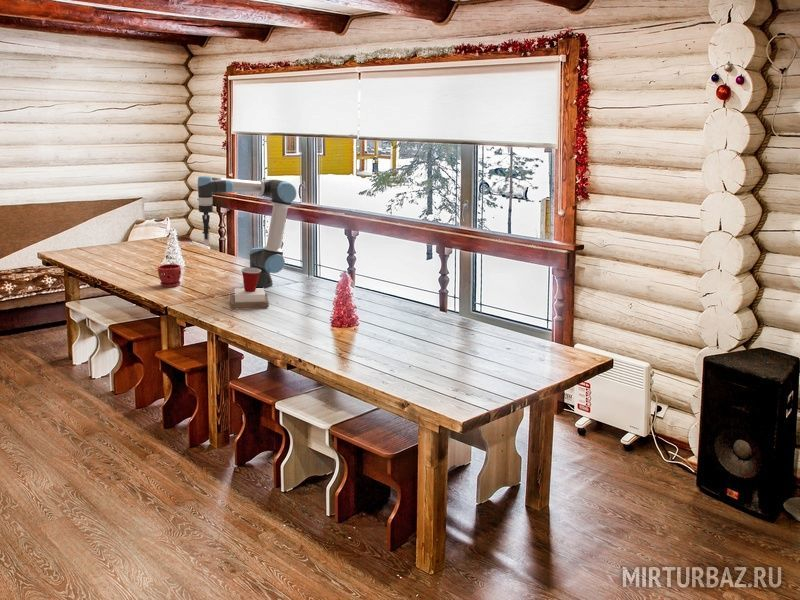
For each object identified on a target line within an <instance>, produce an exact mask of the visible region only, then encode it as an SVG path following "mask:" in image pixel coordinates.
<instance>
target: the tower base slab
mask: <svg viewBox="0 0 800 600" xmlns="http://www.w3.org/2000/svg"><path fill="white" fill-rule="evenodd" d="M267 307H270V301H269V298H268V294H267V293H265V302H235V294H230V309H231V310H241V309H240V308H251V309H268V308H267ZM236 308H238V309H236Z"/></svg>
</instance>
